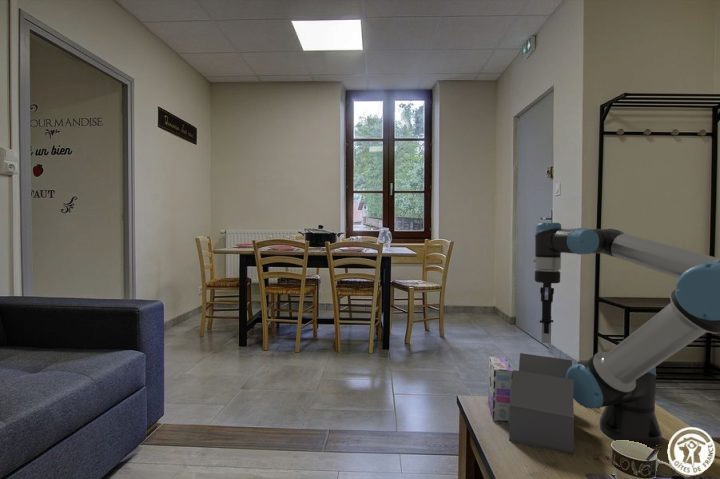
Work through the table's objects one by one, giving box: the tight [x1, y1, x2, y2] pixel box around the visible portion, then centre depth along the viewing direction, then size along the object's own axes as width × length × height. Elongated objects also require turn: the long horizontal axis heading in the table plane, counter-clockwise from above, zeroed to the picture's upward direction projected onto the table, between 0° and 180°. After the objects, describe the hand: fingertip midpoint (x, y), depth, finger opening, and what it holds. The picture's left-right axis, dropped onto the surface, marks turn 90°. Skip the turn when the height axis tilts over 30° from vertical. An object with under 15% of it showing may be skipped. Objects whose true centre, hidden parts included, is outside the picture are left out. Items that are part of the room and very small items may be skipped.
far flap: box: [518, 352, 573, 378], centre depth 129 cm, size 16×10×1 cm
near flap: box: [510, 369, 574, 418], centre depth 111 cm, size 16×10×1 cm
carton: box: [508, 406, 575, 456], centre depth 118 cm, size 16×20×10 cm
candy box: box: [487, 356, 514, 424], centre depth 130 cm, size 14×6×16 cm, turn 168°
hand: (546, 342), depth 130 cm, fingers closed
